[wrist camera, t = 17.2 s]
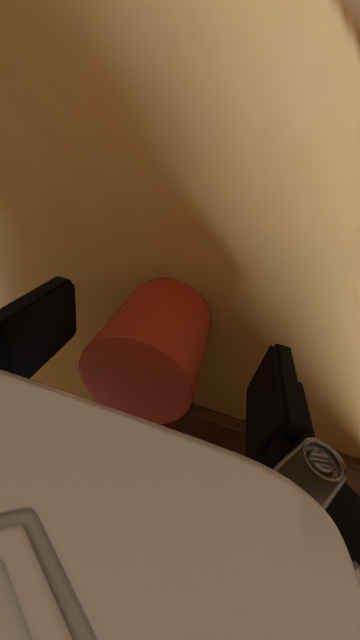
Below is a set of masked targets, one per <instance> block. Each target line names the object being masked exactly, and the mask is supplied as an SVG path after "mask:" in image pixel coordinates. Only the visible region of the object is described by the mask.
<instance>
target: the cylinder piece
mask: <svg viewBox="0 0 360 640" xmlns="http://www.w3.org/2000/svg"><path fill="white" fill-rule="evenodd" d="M209 328H210V313H209V309H208V307H207V305H206V303H205V301H204V300H203V298H202V297H201V296H200V294H199V293H198V292H197V291H195V290H194V289H193V288H192V287H190V286H188V285H187V284H185V283H182V282H180V281H177V280H173V279H155V280H152V281H149V282H147V283H145V284H143V285H142V286H140V287H139V288H138V289H137V290H136V291H135V293H134V294H133V295H132V296H131V297H130V298H129V299H128V300H127V302H126V303H125V304H124V305H123V306H122V307H121V308H120V309H119V311H118V312H117V313H116V314H115V315H114V316H113V317H112V318H111V319H110V321H109V322H108V323H107V324H106V325H105V326H104V327H103V328H102V330H101V331H100V332H99V333H98V334H97V335H96V336H95V337H94V339H93V340H92V341H91V342H90V343H89V344H88V345H87V346H86V348H85V349H84V350H83V352H82V354H81V357H80V361H79V372H80V376H81V379H82V382H83V384H84V385H85V387H86V389H87V390H88V392H89V393H90V394H91V396H92V397H93V398H94V399H95V400H96V401H97V402H98V403H99V404H102V405H105V406H108V407H111V408H114V409H116V410H119V411H122V412H125V413H128V414H131V415H133V416H136V417H139V418H142V419H145V420H148V421H150V422H153V423H156V424H159V425H160V424H166V423H170V422H173V421H175V420H177V419H179V418H181V417H182V416H183V415H184V414H185V413H186V412H187V411H188V410H189V408H190V406H191V404H192V401H193V398H194V393H195V389H196V385H197V380H198V376H199V372H200V367H201V363H202V359H203V354H204V350H205V345H206V341H207V337H208V332H209Z"/></svg>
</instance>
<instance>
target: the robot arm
mask: <svg viewBox="0 0 360 640" xmlns="http://www.w3.org/2000/svg"><path fill="white" fill-rule="evenodd" d="M75 333H76V306H75V286H74V284H72V282H71V280H69V279H66V278H63V277H60V276H57V277H55V278H53V279H51V280H49V281H48V282H46V283H44V284H43V285H41V286H39V287H37V288H36V289H34V290H32V291H30V292H29V293H27V294H25V295H23V296H22V297H20V298H18V299H16V300H15V301H13V302H11V303H9V304H8V305H6V306H4V307H2V308H1V309H0V640H360V496H359V495H358V494H357V493H356V492H355V491H354V490H353V489H352V488H351V487H350V486H349V485H348V484H347V483H346V482H345V481H346V478H347V468H346V465H345V463H344V461H343V459H342V458H341V456H340V455H339V453H338V452H337V451H336V450H335V449H334V448H333V447H332V446H330V445H329V444H328V443H326V442H324V441H323V440H321V439H318V438H315V434H314V430H313V426H312V422H311V418H310V413H309V409H308V405H307V401H306V397H305V393H304V388H303V385H302V383H301V382H299V381H298V380H297V375H296V371H295V366H294V362H293V357H292V353H291V349H290V347H287V346H284V345H280V344H275V345H274V346H272V345H271V346H270V347H269V348H268V350H267V352H266V354H265V356H264V358H263V359H262V361H261V363H260V365H259V367H258V369H257V371H256V372H255V374H254V376H253V378H252V380H251V382H250V384H249V386H248V388H247V398H246V457H245V456H243V455H240V454H238V453H235V452H233V451H230V450H227V449H225V448H222V447H219V446H217V445H214V444H211V443H209V442H206V441H203V440H201V439H198V438H195V437H192V436H190V435H187V434H184V433H181V432H178V431H176V430H173V429H170V428H167V427H164V426H162V425H159V424H156V423H153V422H150V421H148V420H145V419H142V418H139V417H136V416H133V415H131V414H128V413H125V412H122V411H119V410H116V409H114V408H111V407H108V406H105V405H102V404H99V403H96V402H94V401H91V400H88V399H85V398H82V397H79V396H76V395H74V394H71V393H68V392H65V391H62V390H59V389H56V388H53V387H50V386H47V385H45V384H42V383H39V382H36V381H33V380H30V378H31V377H32V376H33V375H34V374H35V373H36V372H37V371H38V370H39V369H40V368H41V367H42V366H43V365H44V364H45V363H46V362H47V361H48V360H49V359H50V358H52V357H53V356H54V355H55V354H56V353H57V352H58V351H59V350H60V349H61V348H62V347H63V346H64V345H65V344H66V343H67V342H68V341H69V340H70V339H71V338H72V337H73V336H74V335H75Z"/></svg>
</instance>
